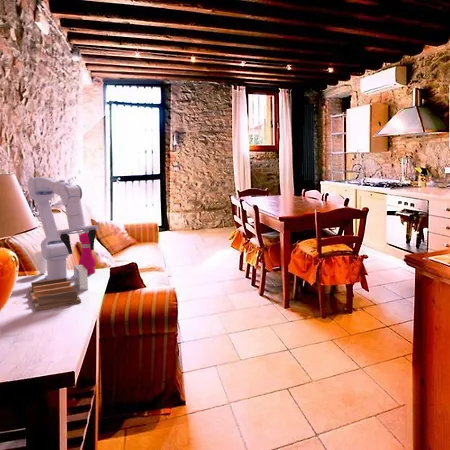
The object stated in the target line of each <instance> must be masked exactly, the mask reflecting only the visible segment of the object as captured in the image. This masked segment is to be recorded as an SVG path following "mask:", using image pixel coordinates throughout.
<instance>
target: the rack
mask: <svg viewBox="0 0 450 450" xmlns="http://www.w3.org/2000/svg"><path fill="white" fill-rule="evenodd" d="M30 283H31V284H30V285H31V289H28V295H29V297H30V299H31V301H32V304H33V307H34V310H35V312H40V311H44V310H49V309H54V308H55V309H56V308H60V307H61V308H62V307H65V306H72V305H76V304H81V303H82V302H81V301H82V300H81V298H80V297H79V295H78V291H77V290H74V285H71V282H70V281H69V280H67V278H66V277H65V278H58V279H51V280H47V279H46V280H39V281H32V282H30Z"/></svg>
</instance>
